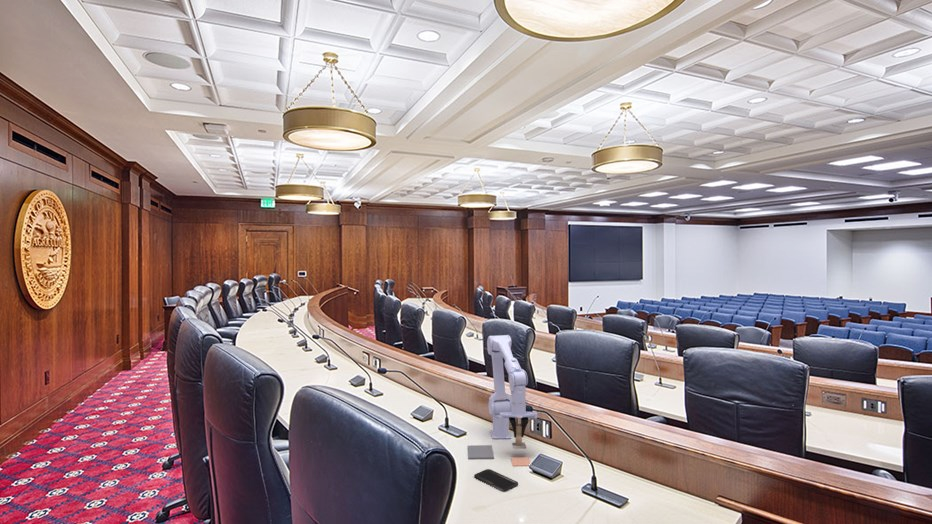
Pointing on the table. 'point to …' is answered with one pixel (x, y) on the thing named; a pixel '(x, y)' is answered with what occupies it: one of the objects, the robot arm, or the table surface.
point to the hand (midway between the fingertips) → (518, 436)
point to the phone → (496, 480)
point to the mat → (480, 452)
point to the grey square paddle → (519, 438)
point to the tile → (520, 461)
